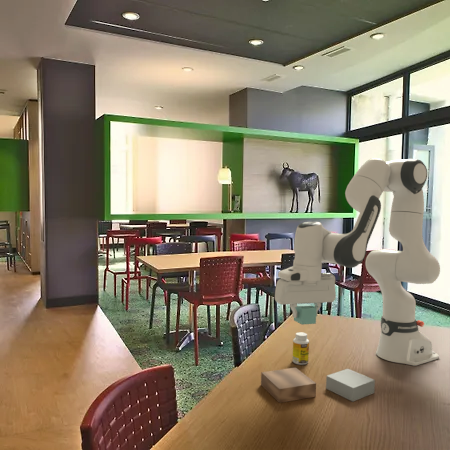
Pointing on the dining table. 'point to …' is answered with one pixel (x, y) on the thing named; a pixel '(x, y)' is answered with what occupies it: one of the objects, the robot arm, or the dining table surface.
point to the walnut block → (288, 384)
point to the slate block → (350, 384)
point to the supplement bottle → (300, 349)
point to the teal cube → (306, 314)
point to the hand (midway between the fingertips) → (304, 316)
